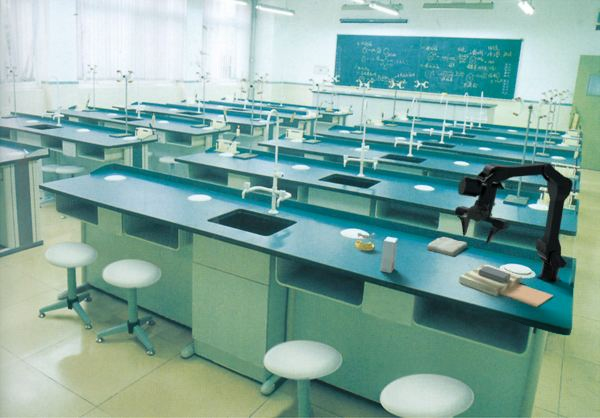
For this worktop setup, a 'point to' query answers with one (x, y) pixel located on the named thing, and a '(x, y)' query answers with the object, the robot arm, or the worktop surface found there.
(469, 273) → the cream wavy flat block
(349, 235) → the worktop surface
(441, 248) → the washcloth
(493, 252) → the worktop surface
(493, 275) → the grey rectangular block
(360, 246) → the dental model
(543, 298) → the mat
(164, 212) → the worktop surface
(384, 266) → the skincare box
